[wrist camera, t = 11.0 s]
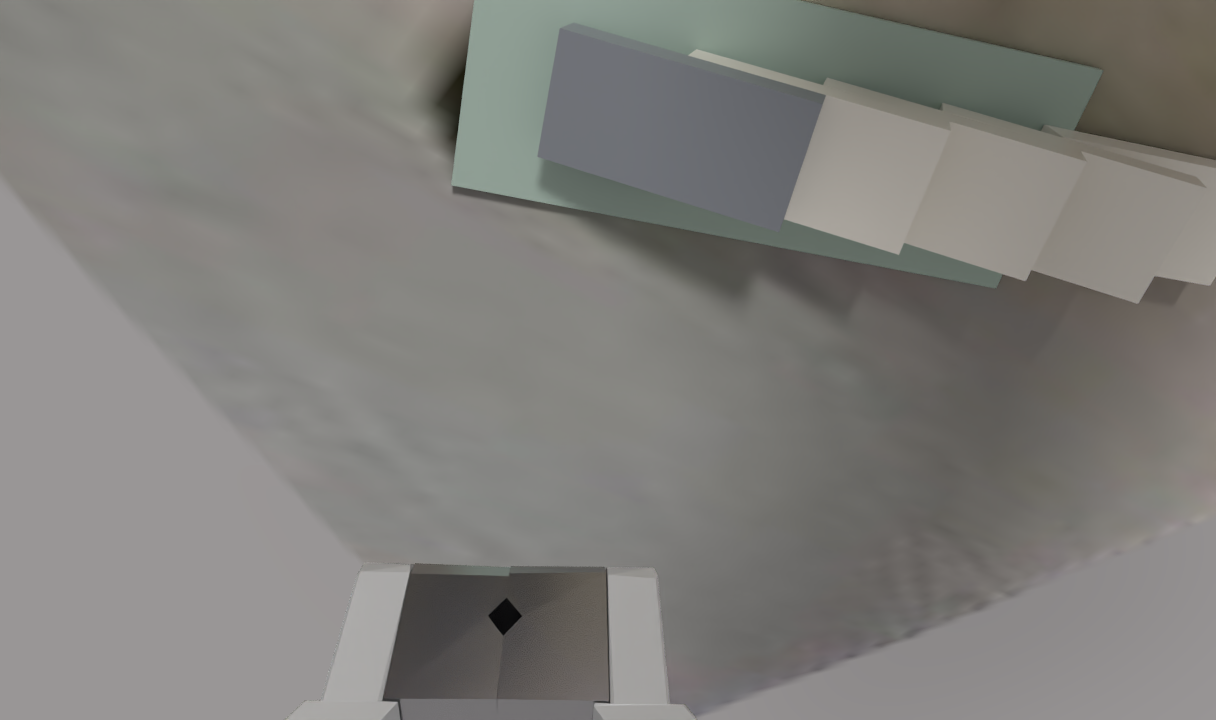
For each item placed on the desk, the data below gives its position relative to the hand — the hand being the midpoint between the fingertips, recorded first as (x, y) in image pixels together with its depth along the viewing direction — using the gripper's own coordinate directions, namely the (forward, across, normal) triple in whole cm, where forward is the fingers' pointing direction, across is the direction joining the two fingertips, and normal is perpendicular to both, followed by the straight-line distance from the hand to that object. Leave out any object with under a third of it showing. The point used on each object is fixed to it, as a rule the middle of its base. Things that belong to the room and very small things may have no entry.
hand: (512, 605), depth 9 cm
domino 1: (+28, 0, +3) cm, 29 cm away
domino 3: (+28, -10, +4) cm, 30 cm away
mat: (+30, -8, +4) cm, 31 cm away
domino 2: (+28, -4, +4) cm, 29 cm away
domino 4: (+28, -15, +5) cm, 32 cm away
